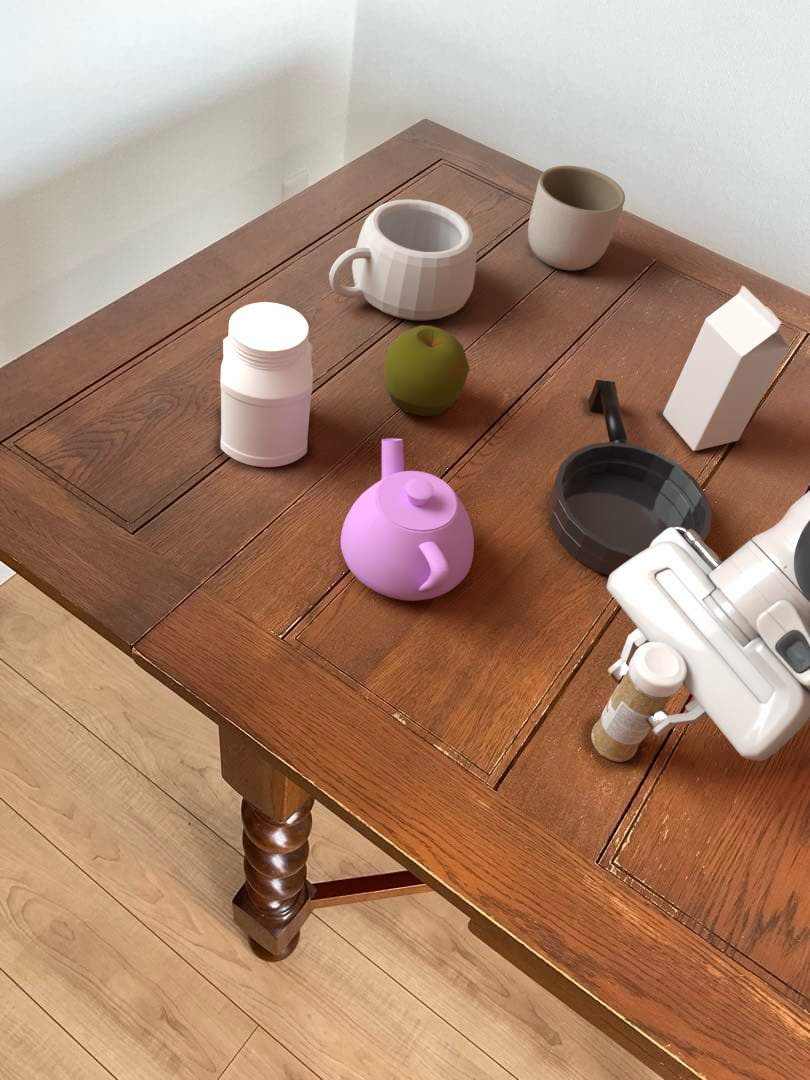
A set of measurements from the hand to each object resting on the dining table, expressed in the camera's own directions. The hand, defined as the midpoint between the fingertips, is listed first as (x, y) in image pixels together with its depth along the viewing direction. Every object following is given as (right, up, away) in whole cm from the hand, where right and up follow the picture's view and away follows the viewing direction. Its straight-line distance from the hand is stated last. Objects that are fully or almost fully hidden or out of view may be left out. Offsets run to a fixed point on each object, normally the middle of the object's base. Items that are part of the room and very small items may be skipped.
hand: (633, 703), depth 85 cm
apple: (-18, +31, +33) cm, 49 cm away
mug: (-21, +48, +48) cm, 71 cm away
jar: (-36, +27, +26) cm, 52 cm away
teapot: (-20, +13, +18) cm, 30 cm away
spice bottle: (-1, -5, +6) cm, 8 cm away
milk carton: (+17, +28, +38) cm, 51 cm away
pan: (+4, +16, +25) cm, 30 cm away
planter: (+3, +57, +60) cm, 83 cm away
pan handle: (+4, +27, +34) cm, 44 cm away
